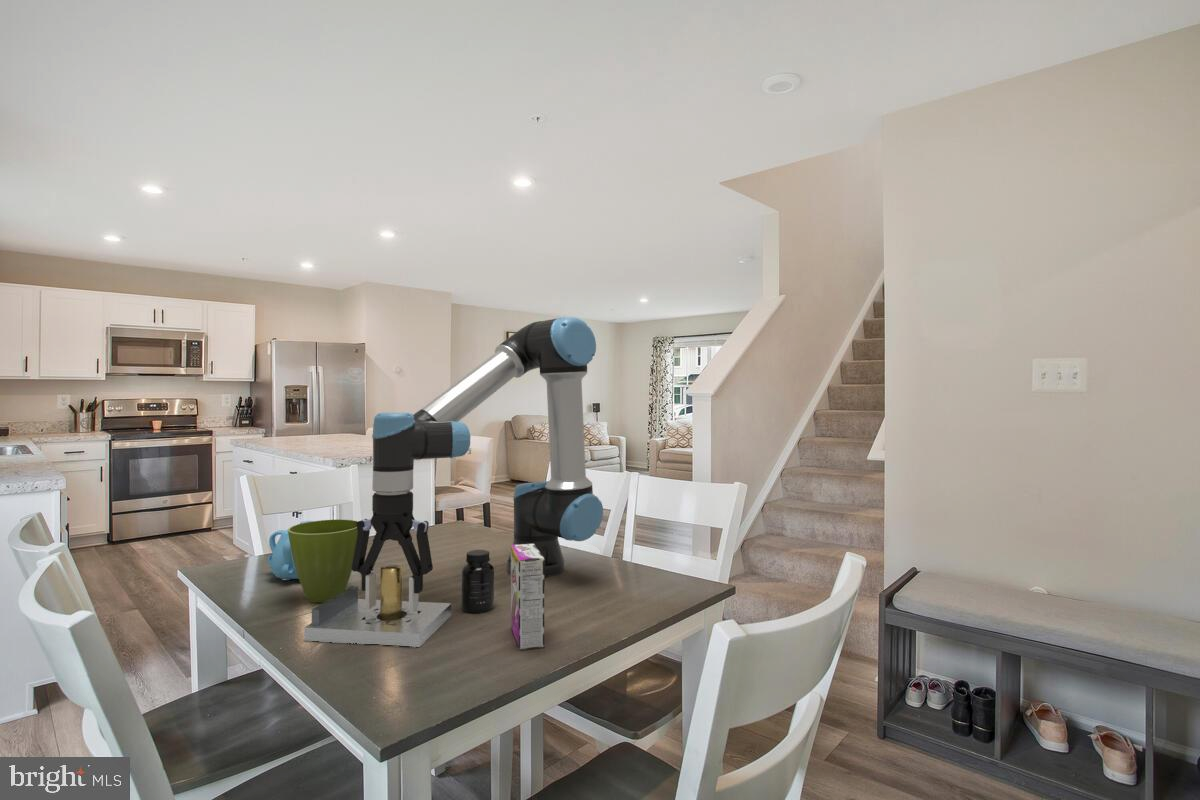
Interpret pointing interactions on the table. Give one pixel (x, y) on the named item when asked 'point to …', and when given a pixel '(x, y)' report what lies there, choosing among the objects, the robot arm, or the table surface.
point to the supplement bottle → (477, 582)
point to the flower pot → (323, 556)
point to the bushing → (391, 592)
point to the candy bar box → (527, 596)
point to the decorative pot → (282, 556)
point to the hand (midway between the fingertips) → (391, 608)
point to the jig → (373, 622)
